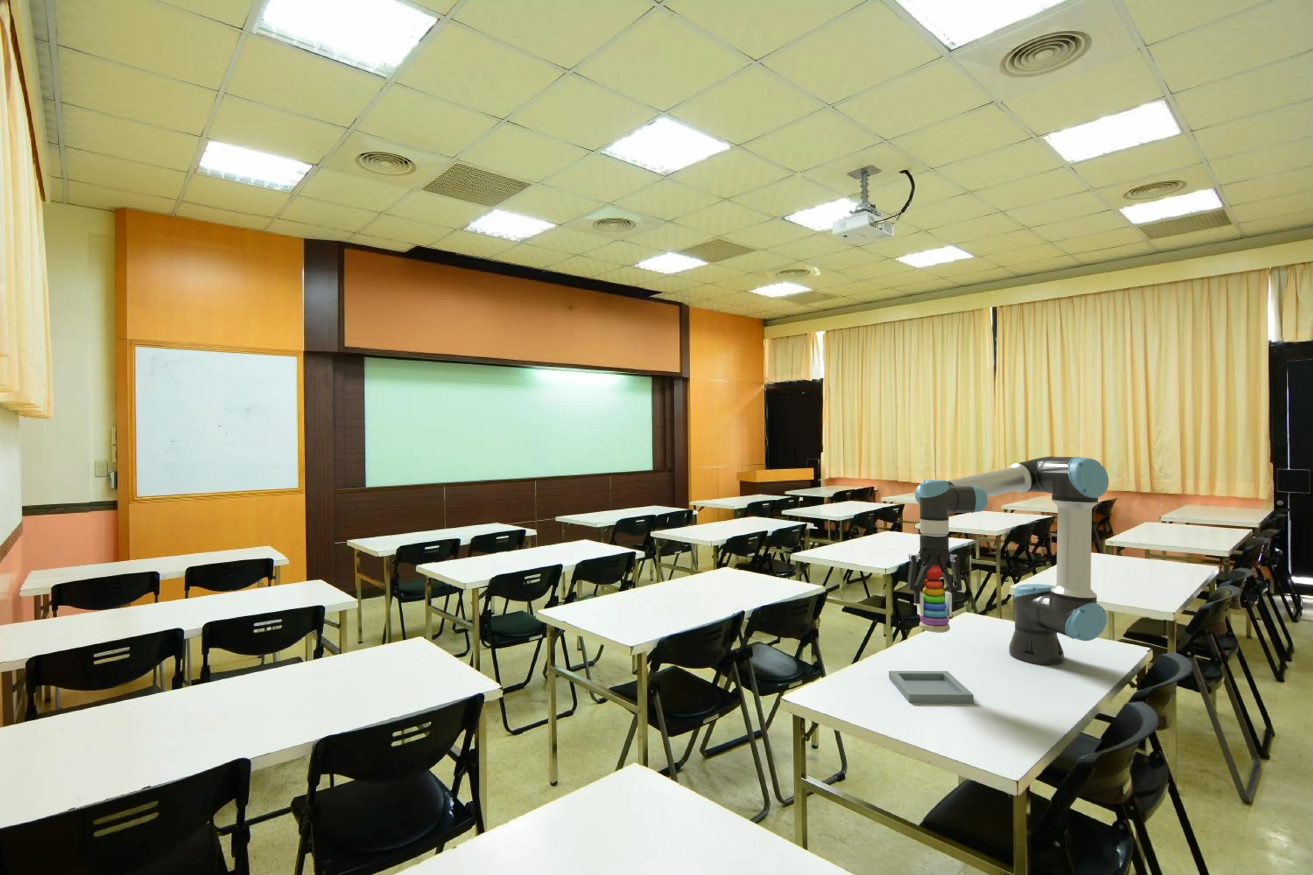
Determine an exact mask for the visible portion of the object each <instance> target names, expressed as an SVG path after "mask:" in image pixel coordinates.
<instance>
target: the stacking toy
mask: <svg viewBox="0 0 1313 875" xmlns="http://www.w3.org/2000/svg"><path fill="white" fill-rule="evenodd" d="M925 566H926V565H925ZM942 577H943V576H942V569H941V568H940V567H939V566H936V565H933V566H931V568H930V570H929V571H927V576H926V579H925V581H924V584H923V587H922V593H923V616H920V615H919V619H920V622H919V624H918V625H919V627H920V629H922V630H923V631H926V632H931V633H936V634H937V633H939V634H941V633H947V632H948V631H950V629H951V625H950V619H949V618H950V617H949V616H947V615H948V612H947V610H946V607H947V605H946V603H945V590H944V588H943V585H944V583H943V581H942V580H941V578H942Z"/></svg>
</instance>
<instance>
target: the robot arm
mask: <svg viewBox="0 0 1313 875" xmlns="http://www.w3.org/2000/svg"><path fill="white" fill-rule="evenodd" d="M1109 480H1110V479H1109V475H1108V471H1107V470H1106V468H1105V467H1104V465H1103V464H1101V462H1099V461H1098V460H1096V459H1094V458H1089V457H1084V456H1083V457H1082V456H1052V455H1051V456H1043V457H1037V458H1034V459H1029V460H1024V461H1022V462H1017V463H1016V462H1015V463H1013V464H1011V465H1009V467H1007V468H1003V469H998V470H992V471H989V472H988V471H987V472H983V473H979V474H974V475H969V476H963V477H960V478H959V477H958V478H954V479H949V480H943V479H923V480H921V482H920V483H919V485H918V486H916V489H915V490H914V491H915V492H914V497H915V500H916V502H917V503H918V504H919V533H920V535H919V551H918V553H915V554H912V553H911V554H910V553H909V554H908V560H909V566H908V574H907V583H906V587H907V589H909V590H910V591H913V601H914V603H915V604H917V605H916V608H917V609H916V610H917V611H916V612H917V615H918V616H919V617H920V616H923V594H924V593H923V591H922V590H923V587H924V581H925V580H926V579H927V578H926V576H927V571H929V570H930V568H931V566H933V565H936V566H939V567H940V568H941V569H942V576H941V577H942V578H943V581H944V583H945V585H946V589H947V590H946V591H945V590H944V597H945V601H944V602H945V603H946V605H947V607H946V610H947V612H948V615H947V617H948V618H951V617H953V616H952V615H953V613H952V612H953V611H952V610H953V605H955V603H956V594H957V593H958V592H960V591H963V585H962V577H961V571H960V569H961V568H960V562H961V556H959V555H957V554H951V553H950V552H949V548H950V543H949V542H950V538H949V536H948V535H949V533H950V528H949V525H950V523H949V518H950V517H949V515H950V514H955V513H957V514H958V513H961V514H962V513H965V514H966V513H970V514H973V513H980V512H982V511H984V510H985V509H987V508H986V507H987V505H988V498H990V497H996V496H1000V495H1003V494H1009V493H1013V492H1016V493H1018V494H1025V493H1031V492H1033V493H1046V494H1051V501H1052V502H1053V503H1054V504H1055V505H1056V506H1057V527H1056V528H1057V533H1056V539H1057V540H1056V584H1055V585H1053V584H1044V583H1043V584H1041V583H1032V584H1031V583H1029V584H1028V583H1026V584H1019V585H1017V586H1015V587H1014V592H1013V593H1014V594H1013V595H1014V596H1013V607H1014V608H1013V609H1014V613H1013V614H1014V630H1013V631H1014V632H1013V634H1012V637H1011V640H1010V643H1009V645H1008V654H1009V655H1010V656H1012V657H1013V658H1015V659H1017V660H1020V661H1023V662H1027V663H1032V664H1037V665H1046V666H1047V665H1050V666H1051V665H1059V664H1063V663H1064V662H1065V653H1064V649H1063V647H1062V645H1061V641H1060V639H1059V637H1058V634H1060V635H1063V636H1066V637H1068V638H1070V639H1073V640H1078V641H1083V642H1089V641H1092V640H1095V639H1096V638H1098V637H1099V636H1100V635H1101V634H1102V633H1103V631H1104V630H1105V628H1106V626H1107V621H1108V620H1107V619H1108V616H1107V612H1106V610H1105V609H1104V607H1103V606H1101V604H1099V603H1098V602H1097V601H1098V596H1097V593H1096V592H1095V591H1094V590H1092V588H1091V586H1092V582H1091V581H1092V525H1093V524H1092V523H1093V522H1092V518H1093V517H1092V514H1093V513H1092V512H1093V508H1094V507H1095V506H1096V505H1098V504H1099V498H1100V497H1102V496H1103V495H1104V494H1105V493H1106V491H1107V490H1108V488H1109V484H1110V483H1109V482H1110V481H1109ZM919 559H920V560H921V561H922V563H921V565H920V570H919V573H918V576H917V568H918V562H919ZM948 561H950V563H951V564H950V566H951V573H952V577H951V575H950V572H949V570H948V566H947V562H948ZM925 565H926V566H925ZM916 576H917V577H916Z"/></svg>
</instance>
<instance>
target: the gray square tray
mask: <svg viewBox="0 0 1313 875" xmlns="http://www.w3.org/2000/svg"><path fill="white" fill-rule="evenodd" d="M888 679H889V680H890V681H891V683H892V684H893V685H894V687H896V689H897V690H898V691H899V692H900V693H901V695H902V696H903V697H904V698H905V700H906V701H907V702H908V703H913V704H914V703H915V704H916V703H920V704H921V703H922V704H926V703H927V704H928V703H929V704H931V703H933V704H936V703H937V704H941V703H945V704H946V703H948V704H949V703H950V704H955V703H956V704H973V703H974V699H975V698H974V697H975V696H974V694H973V693H972V691H970V690H969V689H968V688H967V687H966V686H964V684H962V683H961V682H960V681H959V680H958V679H957V678H956V677H954V675H953V674H951V673H950V672H949V671H948V670H888Z"/></svg>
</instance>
